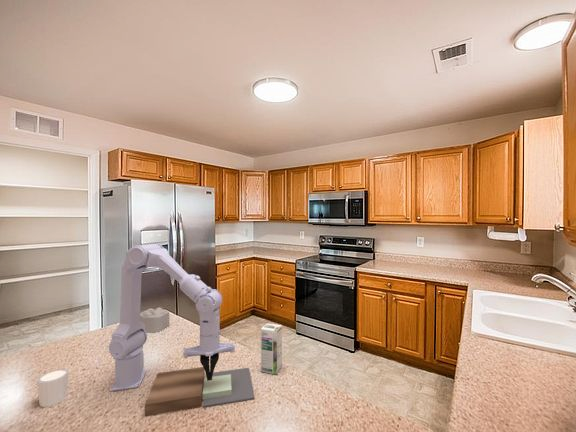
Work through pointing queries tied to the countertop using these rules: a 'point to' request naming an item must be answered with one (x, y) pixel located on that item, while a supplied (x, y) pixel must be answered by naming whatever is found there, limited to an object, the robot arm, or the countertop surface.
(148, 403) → the walnut board
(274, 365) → the syrup box
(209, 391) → the coaster
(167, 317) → the lumpy-topped squat cylinder
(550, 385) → the countertop surface
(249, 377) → the rubber mat
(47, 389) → the white cylinder
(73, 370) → the countertop surface
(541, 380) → the countertop surface
